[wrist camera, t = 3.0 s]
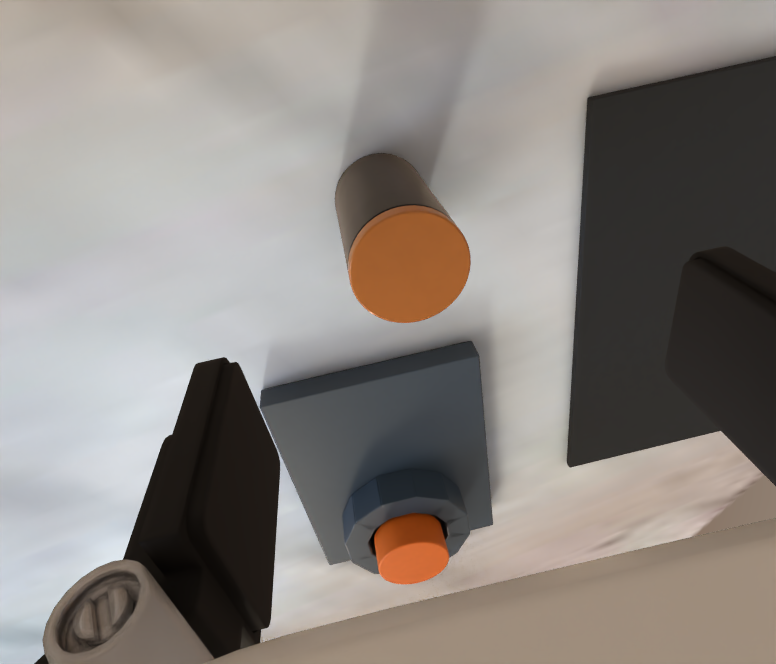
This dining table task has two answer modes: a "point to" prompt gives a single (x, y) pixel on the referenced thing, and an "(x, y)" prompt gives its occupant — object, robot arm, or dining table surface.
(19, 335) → the dining table surface
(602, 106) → the desk pad
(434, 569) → the button
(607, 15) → the dining table surface
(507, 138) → the dining table surface
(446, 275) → the battery
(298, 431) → the grey button base
